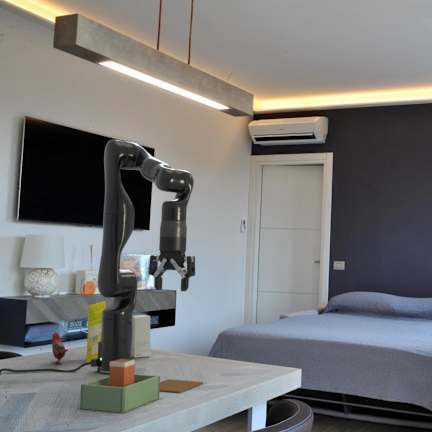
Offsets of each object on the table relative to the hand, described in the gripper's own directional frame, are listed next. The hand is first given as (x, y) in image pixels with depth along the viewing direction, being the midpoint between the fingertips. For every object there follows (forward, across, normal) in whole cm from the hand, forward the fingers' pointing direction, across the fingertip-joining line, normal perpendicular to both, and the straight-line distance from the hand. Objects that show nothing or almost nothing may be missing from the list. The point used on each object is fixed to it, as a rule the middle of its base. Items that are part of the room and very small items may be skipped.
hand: (171, 290), depth 176 cm
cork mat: (+28, -2, 0) cm, 28 cm away
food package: (+28, +48, -26) cm, 61 cm away
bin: (+28, 0, +20) cm, 34 cm away
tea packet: (+28, 0, +20) cm, 34 cm away
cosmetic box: (+28, +38, -37) cm, 60 cm away
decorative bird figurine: (+28, +53, -15) cm, 62 cm away
